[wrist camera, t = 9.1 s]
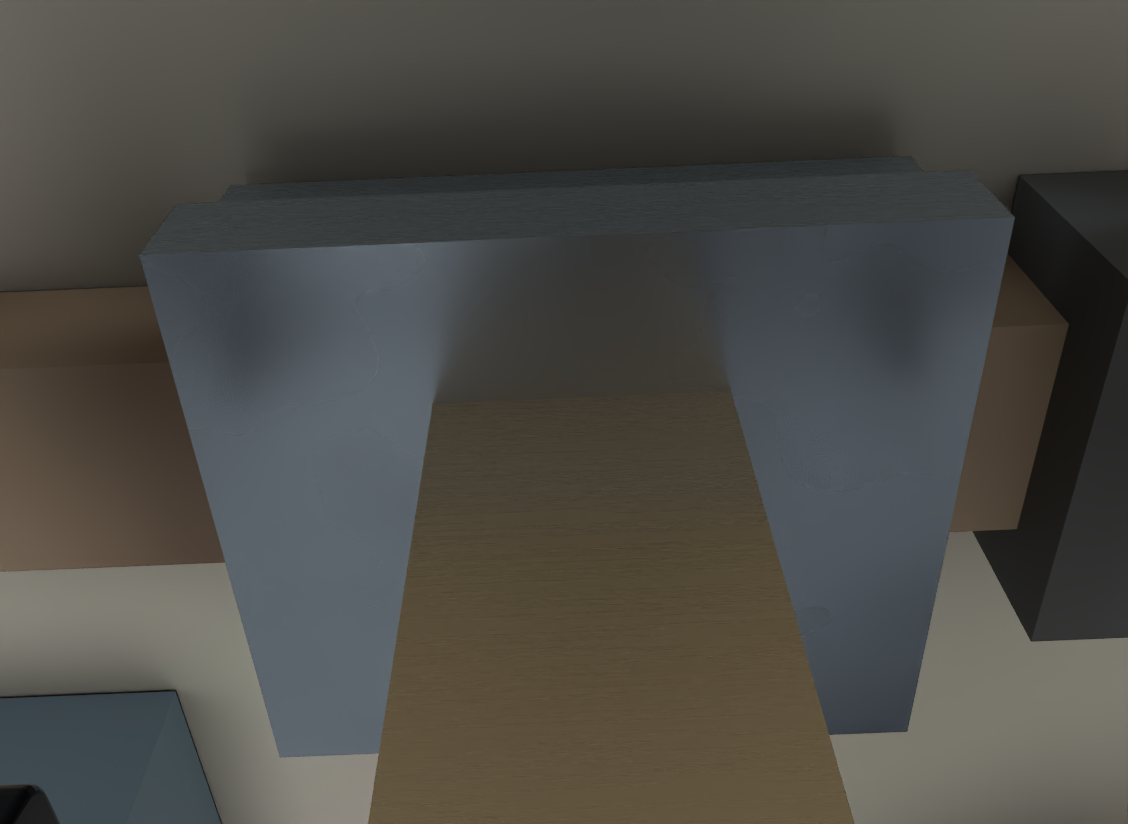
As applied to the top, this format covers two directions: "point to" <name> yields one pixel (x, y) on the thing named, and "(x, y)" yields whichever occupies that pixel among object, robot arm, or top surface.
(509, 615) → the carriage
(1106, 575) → the rail
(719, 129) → the top surface
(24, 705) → the blue button housing
